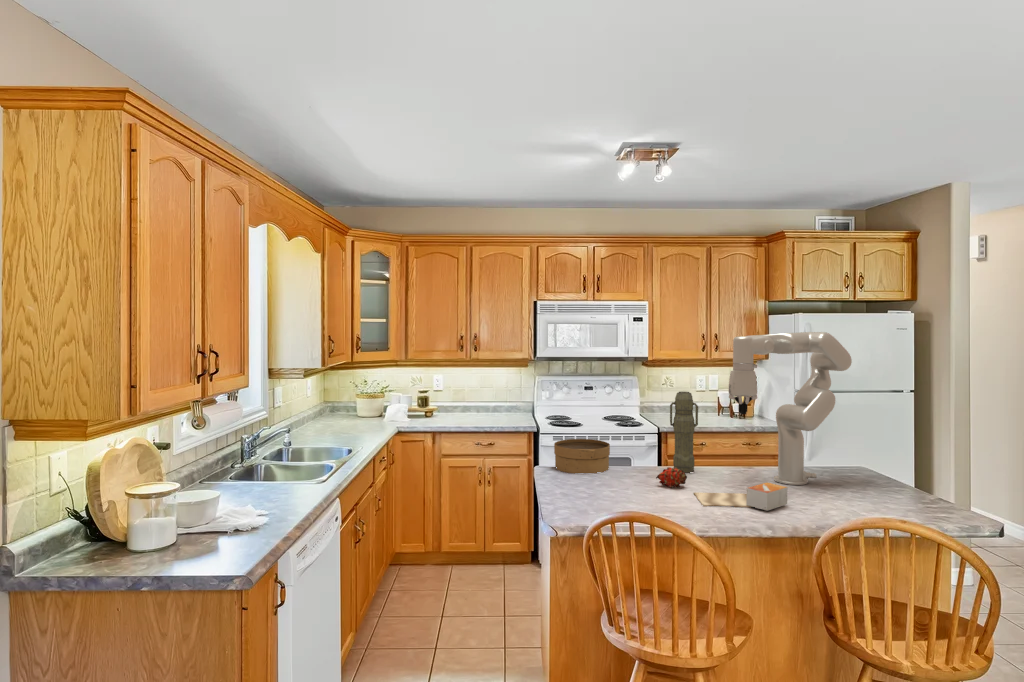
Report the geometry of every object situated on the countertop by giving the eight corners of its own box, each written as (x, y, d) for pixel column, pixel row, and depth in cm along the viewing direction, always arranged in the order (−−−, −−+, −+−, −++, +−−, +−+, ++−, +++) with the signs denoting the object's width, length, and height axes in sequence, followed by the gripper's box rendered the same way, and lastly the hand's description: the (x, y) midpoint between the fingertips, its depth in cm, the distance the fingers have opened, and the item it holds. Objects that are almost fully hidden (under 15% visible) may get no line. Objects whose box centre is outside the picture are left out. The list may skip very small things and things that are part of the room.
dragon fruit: (689, 492, 237) (658, 494, 240) (687, 475, 243) (656, 478, 246) (687, 478, 232) (655, 480, 235) (684, 461, 239) (654, 464, 242)
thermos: (699, 473, 260) (699, 393, 259) (671, 473, 261) (671, 393, 261) (695, 469, 269) (696, 391, 268) (668, 468, 270) (669, 390, 269)
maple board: (758, 495, 226) (758, 493, 226) (773, 507, 210) (773, 506, 210) (693, 494, 228) (693, 492, 228) (703, 506, 213) (703, 504, 213)
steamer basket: (605, 476, 257) (605, 449, 257) (548, 472, 265) (548, 447, 265) (613, 464, 281) (613, 439, 281) (561, 461, 288) (560, 437, 288)
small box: (788, 486, 212) (767, 492, 205) (787, 504, 213) (767, 511, 205) (766, 481, 219) (746, 487, 211) (766, 498, 219) (745, 505, 211)
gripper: (759, 367, 241) (759, 412, 241) (721, 367, 242) (721, 412, 242) (765, 368, 233) (765, 415, 233) (726, 368, 234) (726, 415, 235)
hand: (742, 413), depth 238 cm, fingers closed
